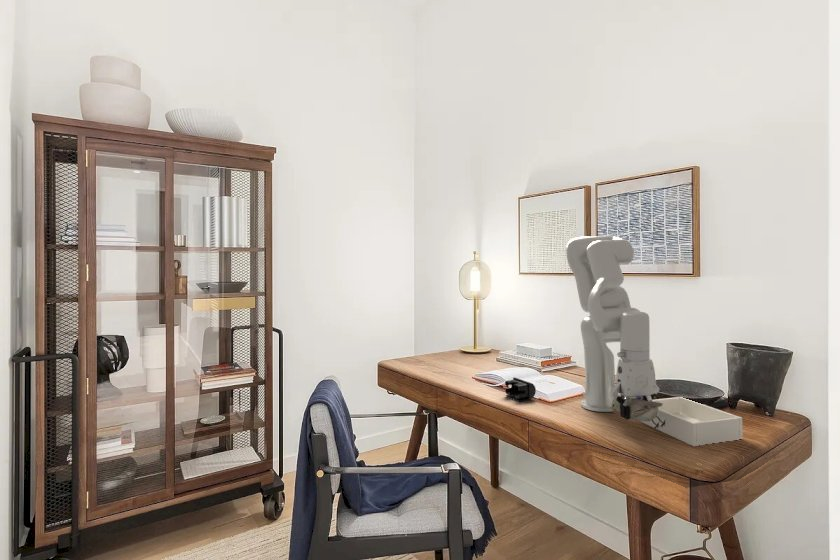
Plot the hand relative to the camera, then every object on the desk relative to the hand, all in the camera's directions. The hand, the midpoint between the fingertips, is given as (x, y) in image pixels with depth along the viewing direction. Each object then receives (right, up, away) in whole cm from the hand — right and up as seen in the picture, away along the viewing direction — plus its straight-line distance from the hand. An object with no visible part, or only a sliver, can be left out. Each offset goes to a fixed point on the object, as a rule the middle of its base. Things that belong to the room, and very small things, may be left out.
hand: (635, 416), depth 130 cm
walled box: (+16, -4, +2) cm, 17 cm away
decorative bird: (0, -1, -1) cm, 2 cm away
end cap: (-24, -5, +40) cm, 47 cm away
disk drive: (+34, -4, +25) cm, 42 cm away
